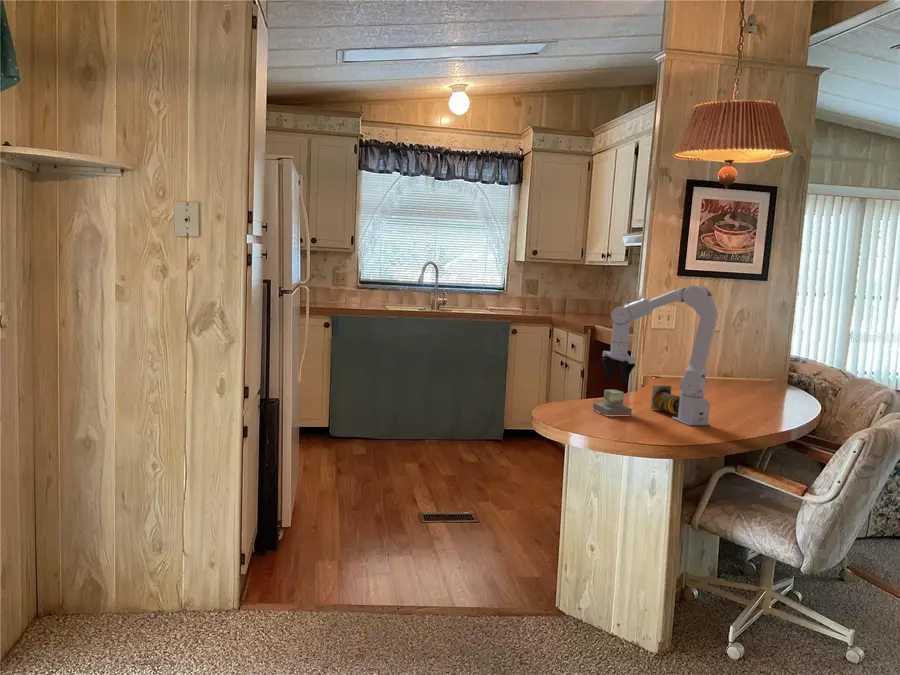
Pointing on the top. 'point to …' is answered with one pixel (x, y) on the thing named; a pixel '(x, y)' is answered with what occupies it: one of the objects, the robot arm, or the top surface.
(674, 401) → the condiment
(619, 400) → the sage block
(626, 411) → the plate
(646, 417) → the top surface
